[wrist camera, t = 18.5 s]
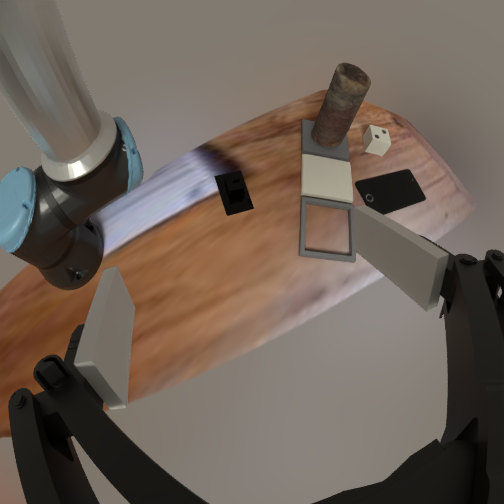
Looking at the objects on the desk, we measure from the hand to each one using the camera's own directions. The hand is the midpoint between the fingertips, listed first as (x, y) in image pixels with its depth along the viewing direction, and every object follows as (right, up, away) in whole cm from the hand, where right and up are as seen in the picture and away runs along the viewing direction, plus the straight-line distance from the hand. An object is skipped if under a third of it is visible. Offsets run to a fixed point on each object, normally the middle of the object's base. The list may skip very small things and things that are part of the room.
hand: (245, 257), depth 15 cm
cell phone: (+33, +14, +46) cm, 58 cm away
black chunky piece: (-3, +12, +42) cm, 44 cm away
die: (+30, +26, +49) cm, 64 cm away
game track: (+16, +15, +44) cm, 49 cm away
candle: (+18, +26, +47) cm, 57 cm away
